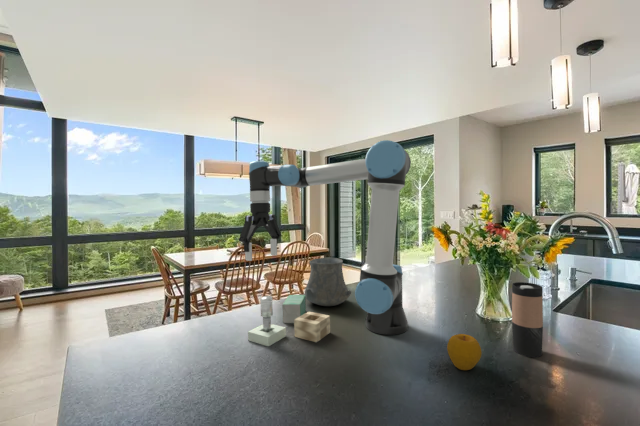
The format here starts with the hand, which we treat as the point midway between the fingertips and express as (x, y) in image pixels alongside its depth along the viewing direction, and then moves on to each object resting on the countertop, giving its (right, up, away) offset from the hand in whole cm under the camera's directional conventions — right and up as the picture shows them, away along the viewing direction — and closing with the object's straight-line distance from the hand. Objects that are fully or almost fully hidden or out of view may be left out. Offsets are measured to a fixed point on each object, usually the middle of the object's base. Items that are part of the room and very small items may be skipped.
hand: (261, 257), depth 118 cm
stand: (+4, -26, -13) cm, 29 cm away
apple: (+62, -25, -35) cm, 75 cm away
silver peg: (+4, -26, -13) cm, 29 cm away
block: (+20, -25, -11) cm, 34 cm away
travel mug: (+84, -25, -26) cm, 92 cm away
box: (+12, -25, +7) cm, 29 cm away
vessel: (+26, -25, +23) cm, 42 cm away
